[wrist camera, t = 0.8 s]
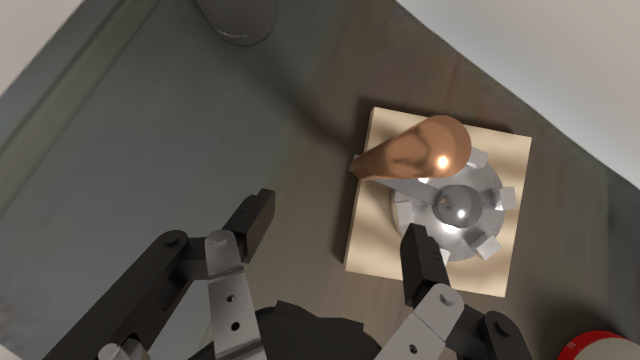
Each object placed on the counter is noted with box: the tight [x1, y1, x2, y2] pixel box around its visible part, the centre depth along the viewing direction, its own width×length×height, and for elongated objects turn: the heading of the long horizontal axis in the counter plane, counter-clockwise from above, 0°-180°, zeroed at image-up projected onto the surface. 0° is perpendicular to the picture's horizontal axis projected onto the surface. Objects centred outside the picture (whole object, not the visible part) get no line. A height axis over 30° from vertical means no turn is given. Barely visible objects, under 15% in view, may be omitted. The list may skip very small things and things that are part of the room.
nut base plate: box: [343, 107, 532, 297], centre depth 32 cm, size 22×22×2 cm
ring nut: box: [348, 115, 517, 265], centre depth 21 cm, size 20×14×20 cm
